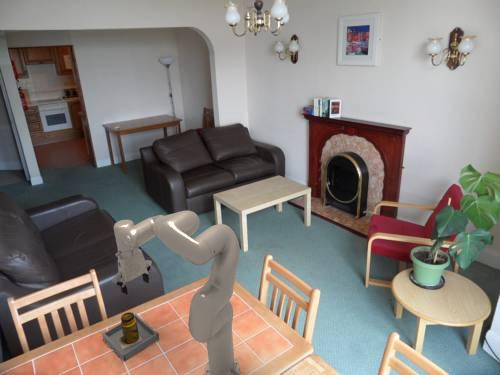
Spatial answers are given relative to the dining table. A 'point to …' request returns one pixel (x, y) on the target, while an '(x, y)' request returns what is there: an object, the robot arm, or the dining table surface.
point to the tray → (147, 339)
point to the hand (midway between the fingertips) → (135, 287)
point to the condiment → (129, 331)
